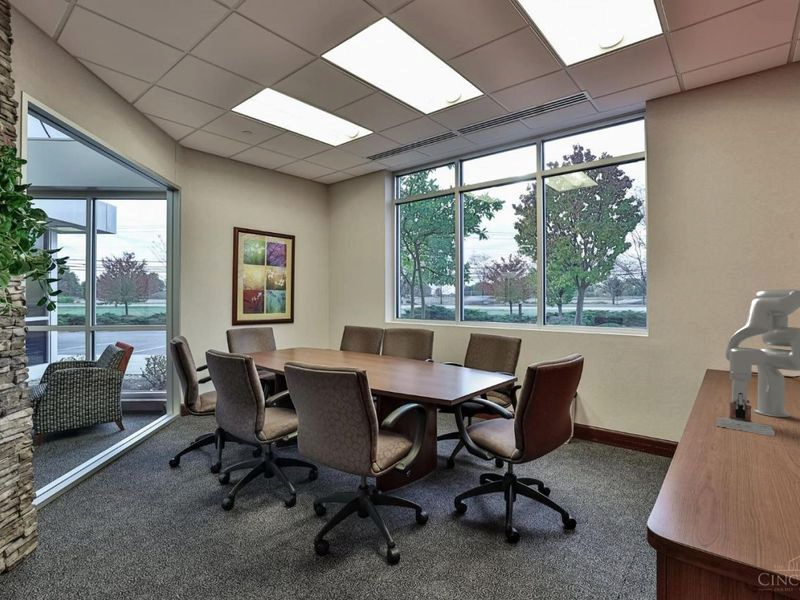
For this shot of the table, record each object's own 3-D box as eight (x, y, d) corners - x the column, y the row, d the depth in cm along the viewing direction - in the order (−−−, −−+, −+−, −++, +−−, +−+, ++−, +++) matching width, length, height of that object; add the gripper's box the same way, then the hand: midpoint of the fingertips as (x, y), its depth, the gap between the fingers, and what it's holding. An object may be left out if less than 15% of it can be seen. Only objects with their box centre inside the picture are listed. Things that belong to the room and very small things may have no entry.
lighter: (727, 418, 181) (727, 397, 181) (731, 418, 183) (731, 396, 183) (749, 423, 174) (749, 401, 174) (753, 422, 175) (753, 400, 175)
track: (717, 420, 178) (717, 416, 178) (771, 429, 167) (771, 424, 167) (716, 426, 169) (716, 422, 169) (774, 436, 157) (774, 431, 157)
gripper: (729, 373, 187) (729, 411, 187) (729, 378, 174) (729, 419, 174) (750, 375, 183) (750, 414, 182) (752, 380, 170) (752, 423, 169)
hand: (740, 416), depth 178 cm, fingers closed on lighter, 4 cm apart
